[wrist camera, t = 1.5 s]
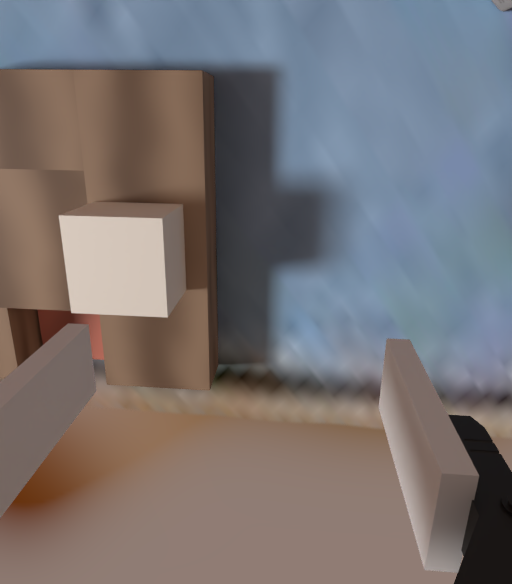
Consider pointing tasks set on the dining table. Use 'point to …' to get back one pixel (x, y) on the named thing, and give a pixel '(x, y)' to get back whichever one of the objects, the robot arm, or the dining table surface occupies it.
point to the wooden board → (107, 188)
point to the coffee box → (503, 4)
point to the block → (124, 258)
